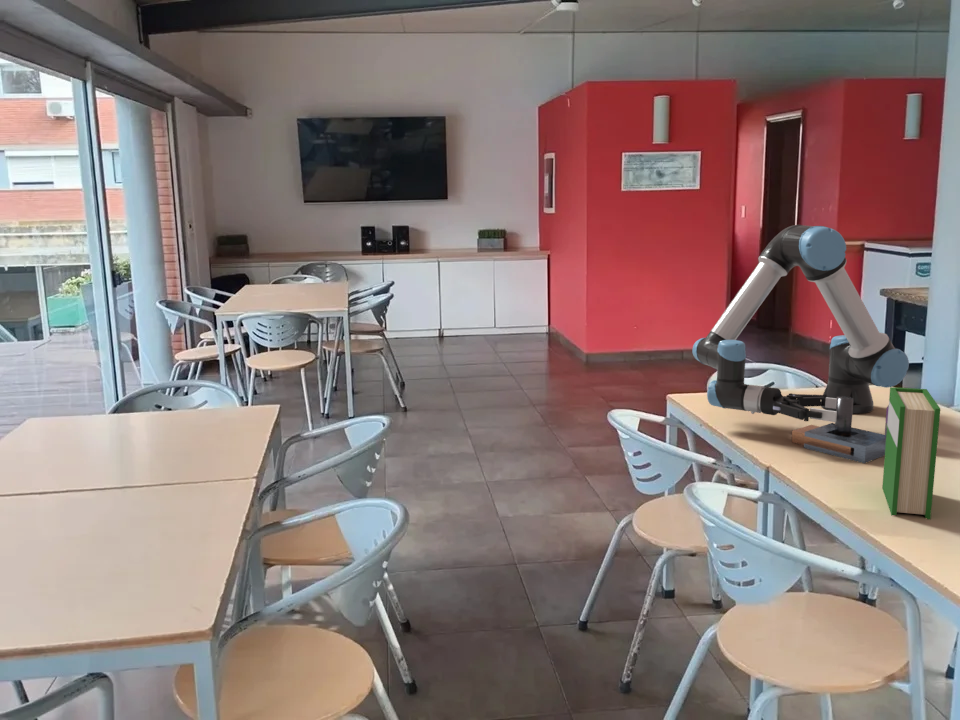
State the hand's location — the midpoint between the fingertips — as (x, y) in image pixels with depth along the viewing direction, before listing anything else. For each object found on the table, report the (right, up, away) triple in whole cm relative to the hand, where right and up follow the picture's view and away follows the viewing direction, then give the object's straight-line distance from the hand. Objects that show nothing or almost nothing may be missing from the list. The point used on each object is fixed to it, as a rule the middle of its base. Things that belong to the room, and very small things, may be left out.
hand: (843, 411), depth 223 cm
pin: (0, -10, +2) cm, 11 cm away
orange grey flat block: (0, -10, +2) cm, 11 cm away
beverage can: (+16, -10, +4) cm, 20 cm away
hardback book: (-2, -18, -36) cm, 40 cm away
